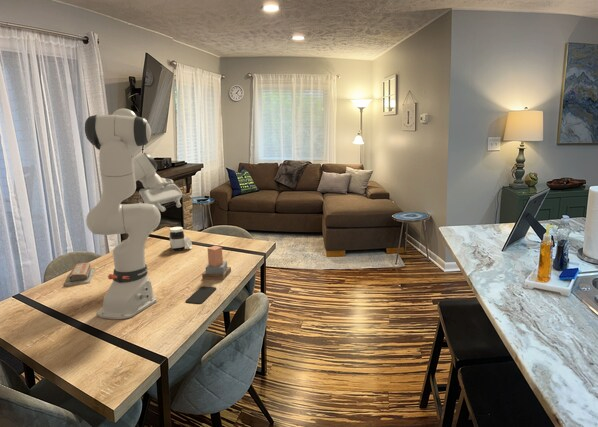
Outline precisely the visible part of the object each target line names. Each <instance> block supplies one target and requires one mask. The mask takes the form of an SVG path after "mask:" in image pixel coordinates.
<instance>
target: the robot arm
mask: <svg viewBox="0 0 598 427" xmlns="http://www.w3.org/2000/svg"><path fill="white" fill-rule="evenodd" d="M151 128H152V127H151V126H150V123H149V121H148V120H147V119H146V118H145V117H142V116H141V117H140V116H137V114H136V113H135V112H134V111H133V110H131V109H128V108H119V109H116V110H115V111H114V112H113V113H112V114H103V115H102V114H101V115H100V114H95V115H91V116H88V117H87V118H86V120H85V123H84V134H85V137H86V139H87V140H88V142H89V143H90V144H91V145H93V146H94V147H95V149H97V151H98V150H99V154H98V155H99V158H98V160H99V170H100V172H99V173H100V177H101V186H102V191H101V192H102V193H101V197H100V200H98V203H97V204H96V205H95V206H94V207H92V208H91V209H90V210H89V212H88V213H87V215H86V218H85V221H86V226H87V228H88V230H89V231H90V233H92V234H94V235H99V236H101V235H102V236H114V235H123V234H128V237H127V238H126V239H124V240H122V241H121V242H119V243H118V244H117V245H116V246H115V247H114V248H113V250H112V256H113V264H114V269H113V272H112V273H113V274H112V273H110V274H108V275H107V278H108V280H112V283H111V284H110V286H109V288H108V289H107V291H106V292H105V295H104V296H103V299H102V300H103V301H102V302H103V303H102V307H101V308H100V309H99V310H98V311H97V312H96V316H97V317H99V318H101V319H102V318H103V319H109V320H124V319H130V318H132V317H134V316H136V315H137V314H138V313H141V312H143V310H146V309H147V308H148V307H150V306H152V305H154V304H155V303H156V302H157V301H158V299H157V297H156V296H154V290H153V286H152V281H151V280H150V278H149V276H148V273H149V272H148V265H147V264H146V257H145V248H146V242H147V240H148V238H149V236H150V234H151V233H152V232H153V231H155V229H156V228H157V227H158V226H159V225H160V222H161V217H162V216H161V212H162V213H163V212H165V211H167V209H166V207H165V206H163V204H168V203H170V202H175V203H176V204H175V206H176V208H181V207H182V204H181V202H180V200H181V199H182V197H183V194H184V193H183V192H182V190H181V189H180V188H179V187H178V185H176V184H175V183H174V180H173V179H170V178H165V177H161V176H160V175H159V174H158V173H157V171H158V163H157V162H156V160H155V159H154V158H153V157H152V155H151V154H150V153H148V152H142V153H139V154H137V155H135V156H134V157H132V155H134V154H135V153H136V152H138V151H139V150H140V149H142V147H144V146H146V145H147V144H148V143H149V142H150V140H151V136H152V129H151ZM137 181H139V182H141V183H142V186H143V188H140V189H139V191H138V194H139V195H140V197H141V199H142V202H139V203H127V204H125V203H123V204H122V202H123V201H125V200H127V199H128V198H130V197H131V196H133V195H134V193H135V192H136V189H137Z"/></svg>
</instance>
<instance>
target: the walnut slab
mask: <svg viewBox="0 0 598 427" xmlns="http://www.w3.org/2000/svg"><path fill="white" fill-rule="evenodd" d="M231 272H232V267H231V266H227V269H226V271H225V272H224V274H206V270H205V271H204V272H202V273H201V277H202V279H203V280H215V281H216V280H217V281H219V280H220V281H224V280H225V279H226V278H227V277H228V276H229V275H230V273H231Z"/></svg>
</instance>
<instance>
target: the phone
mask: <svg viewBox="0 0 598 427" xmlns="http://www.w3.org/2000/svg"><path fill="white" fill-rule="evenodd" d="M216 291H217V287H215V286H204V285H203V286H200V287H198V289H197V290H196V291H194V292H193V293H192V294H191V295H190V296H189V297H188V298H187V299H186V300H185V301H184V302H185V303H187V304H193V305H202V304H203V303H205V302H206V301H207V300H208V298H210V296H212V295H213V293H215V292H216Z"/></svg>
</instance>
